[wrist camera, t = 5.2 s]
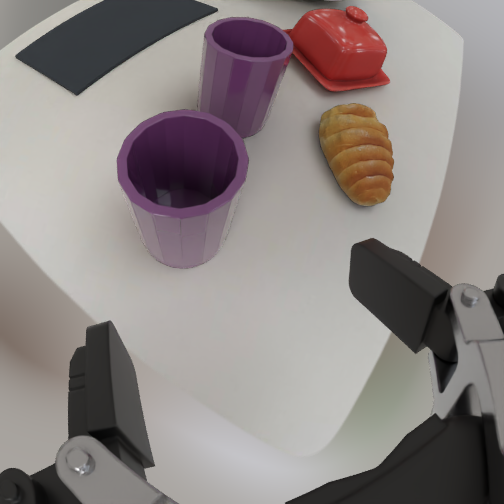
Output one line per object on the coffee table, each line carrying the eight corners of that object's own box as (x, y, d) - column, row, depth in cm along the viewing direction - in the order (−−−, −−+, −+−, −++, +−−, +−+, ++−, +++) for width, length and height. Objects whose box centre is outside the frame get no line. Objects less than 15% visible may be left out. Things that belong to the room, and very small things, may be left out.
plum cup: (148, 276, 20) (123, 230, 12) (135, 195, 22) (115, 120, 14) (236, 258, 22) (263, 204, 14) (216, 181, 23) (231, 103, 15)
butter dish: (390, 90, 32) (424, 44, 24) (323, 101, 28) (357, 39, 20) (336, 35, 34) (359, -11, 26) (266, 39, 31) (284, -18, 23)
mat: (77, 95, 24) (76, 93, 23) (15, 57, 24) (14, 55, 24) (217, 10, 31) (218, 8, 31) (139, -14, 32) (139, -16, 31)
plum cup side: (204, 142, 24) (214, 62, 16) (192, 92, 26) (199, 17, 18) (275, 135, 26) (306, 62, 18) (256, 87, 27) (277, 18, 19)
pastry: (396, 210, 26) (420, 192, 22) (331, 209, 25) (352, 187, 21) (369, 128, 29) (386, 104, 25) (309, 120, 27) (323, 93, 24)
